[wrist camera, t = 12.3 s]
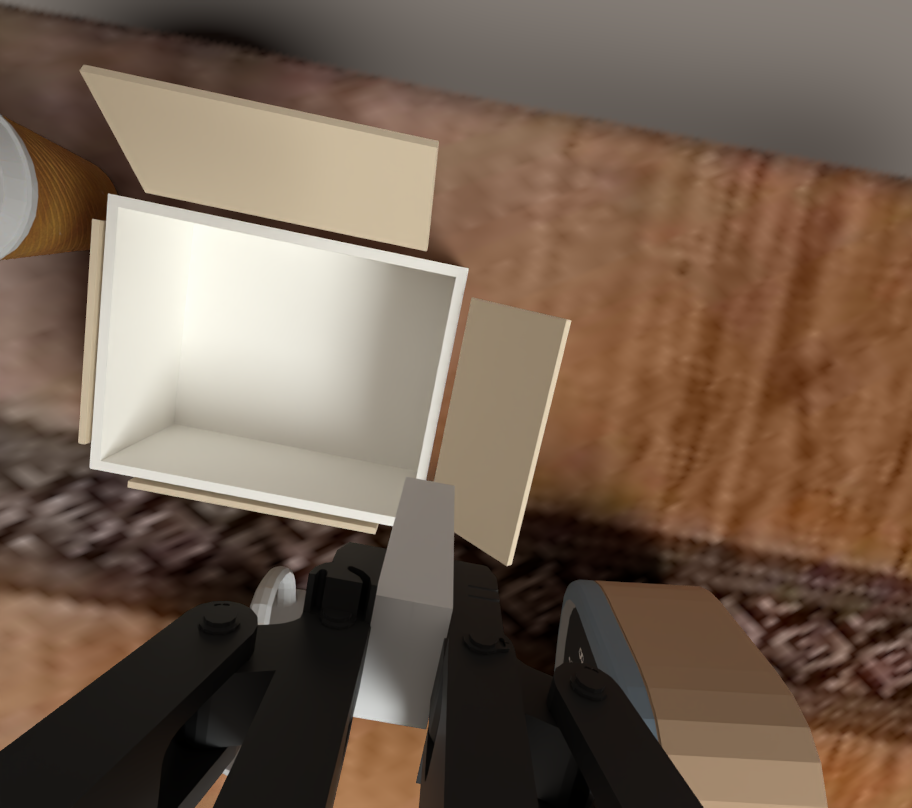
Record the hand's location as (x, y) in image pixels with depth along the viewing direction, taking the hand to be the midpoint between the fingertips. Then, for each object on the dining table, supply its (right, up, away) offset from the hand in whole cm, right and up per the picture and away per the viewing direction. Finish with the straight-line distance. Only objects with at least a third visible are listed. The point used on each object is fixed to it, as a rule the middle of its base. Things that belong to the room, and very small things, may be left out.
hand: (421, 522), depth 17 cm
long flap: (-8, +15, +10) cm, 19 cm away
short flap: (+3, +2, +13) cm, 14 cm away
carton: (-10, +7, +25) cm, 28 cm away
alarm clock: (+14, -18, +31) cm, 38 cm away
